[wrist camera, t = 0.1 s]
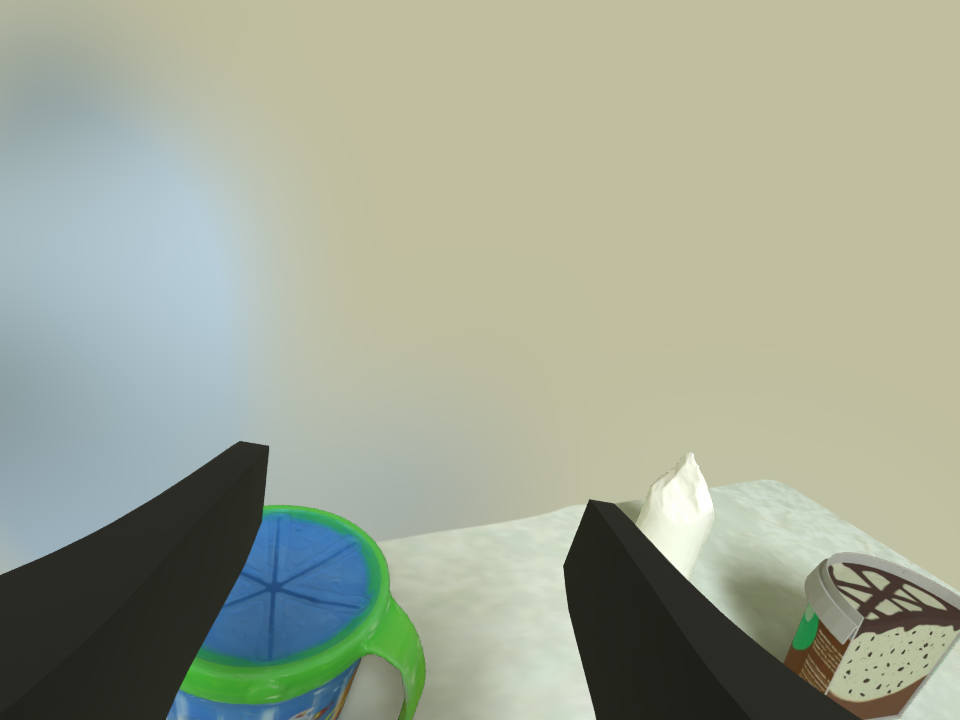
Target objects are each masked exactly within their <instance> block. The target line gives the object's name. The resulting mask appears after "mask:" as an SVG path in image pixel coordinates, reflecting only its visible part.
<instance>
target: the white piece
mask: <svg viewBox="0 0 960 720" xmlns="http://www.w3.org/2000/svg"><path fill="white" fill-rule="evenodd" d="M714 519H715V515H714V510H713V504H712V499H711V497H710V493H709V492H708V490H707V483H706V482H705V479H704V477H703V475H702V473H701V472H700V470H699V465H697V464H696V461H695V460H694V453H691V452H688V453H685V454H684V456H683V457H682V458H681V459H680V461H679V462H678V463H677V465H676V466H675V467H674V468H673V469H672V470H671V471H670V472H667V473H665V474H664V475H662V476H661V477H660V478H658V479H657V480H656V481H655V482H654V483H653V484H652V485H651V487H650V489H649V492H648V495H647V497H646V500H645V502H644V505H643V507H642V510H641V512H640V515H639V517H638V520H637V522H636V524H635V525H636V526H637V527H638V528H639V529H640V530H641V531H642V533H643V534H644V535H645V536H646V537H647V538H648V539H649V540H650V541H651V542H652V543H653V544H654V545H655V547H656V548H657V549H658V550H659V551H660V552H661V553H662V554H663V555H664V556H665V557H666V558H667V559H668V560H669V561H670V562H671V563H672V564H673V565H674V567H675V568H676V569H677V570H678V571H679V572H680V573H681V574H682V575H683V576H684V577H685V578H686V579H687V580H688V581H689V579H690V577H691V574H692V572H693V569H694V567H695V565H696V562H697V560H698V558H699V555H700V553H701V551H702V548H703V546H704V543H705V541H706V539H707V536H708V534H709V532H710V529H711V527H712V524H713V522H714Z"/></svg>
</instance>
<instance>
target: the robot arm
mask: <svg viewBox="0 0 960 720" xmlns="http://www.w3.org/2000/svg"><path fill="white" fill-rule="evenodd" d="M268 455H269V446H266V445H261V444H255V443H249V442H242V441H239V442H237V443H236V444H234V445H233V446H231V447H230V448H228V449H227V450H225V451H224V452H222V453H221V454H220V455H218V456H217V457H215V458H214V459H212V460H211V461H209V462H208V463H207V464H205V465H204V466H202V467H201V468H199V469H198V470H196V471H195V472H193V473H192V474H190V475H189V476H187V477H186V478H184V479H183V480H181V481H180V482H178V483H177V484H175V485H174V486H172V487H170V488H169V489H167V490H166V491H164V492H163V493H161V494H160V495H158V496H156V497H155V498H153V499H152V500H150V501H149V502H147V503H145V504H143V505H141V506H140V507H138V508H136V509H135V510H133V511H131V512H130V513H128V514H126V515H124V516H123V517H121V518H119V519H118V520H116V521H114V522H113V523H111V524H109V525H107V526H105V527H103V528H101V529H99V530H98V531H96V532H94V533H92V534H90V535H88V536H86V537H84V538H82V539H80V540H78V541H76V542H74V543H72V544H69V545H67V546H65V547H63V548H61V549H59V550H57V551H55V552H53V553H51V554H49V555H46V556H44V557H42V558H40V559H37V560H35V561H33V562H30V563H28V564H25V565H23V566H21V567H18V568H16V569H14V570H11V571H9V572H7V573H4V574H2V575H0V720H166V718H167V716H168V714H169V712H170V709H171V707H172V705H173V702H174V700H175V698H176V695H177V693H178V691H179V689H180V687H181V685H182V683H183V681H184V679H185V677H186V675H187V672H188V670H189V668H190V666H191V665H192V663H193V661H194V659H195V657H196V655H197V654H198V652H199V650H200V648H201V646H202V644H203V642H204V641H205V639H206V637H207V635H208V633H209V631H210V629H211V628H212V626H213V624H214V622H215V620H216V618H217V617H218V615H219V613H220V611H221V609H222V607H223V605H224V604H225V602H226V600H227V598H228V596H229V594H230V592H231V590H232V589H233V587H234V585H235V583H236V581H237V579H238V577H239V575H240V574H241V572H242V570H243V568H244V566H245V564H246V561H247V559H248V556H249V554H250V551H251V549H252V546H253V544H254V541H255V539H256V536H257V533H258V531H259V528H260V526H261V523H262V517H263V506H264V496H265V486H266V475H267V465H268ZM563 568H564V578H565V587H566V595H567V602H568V609H569V613H570V618H571V622H572V626H573V630H574V634H575V638H576V642H577V646H578V649H579V653H580V657H581V661H582V665H583V669H584V672H585V676H586V680H587V684H588V688H589V692H590V696H591V699H592V703H593V707H594V711H595V716H596V720H862V719H861V718H859V717H857V716H856V715H854V714H853V713H851V712H850V711H848V710H847V709H845V708H844V707H842V706H841V705H839V704H838V703H836V702H835V701H834V700H832V699H831V698H829V697H828V696H826V695H825V694H823V693H822V692H821V691H819V690H818V689H816V688H815V687H814V686H812V685H811V684H810V683H808V682H807V681H806V680H804V679H803V678H801V677H800V676H799V675H797V674H796V673H795V672H793V671H792V670H791V669H789V668H788V667H787V666H785V665H784V664H783V663H781V662H780V661H779V660H778V659H776V658H775V657H774V656H772V655H771V654H770V653H769V652H767V651H766V650H765V649H764V648H762V647H761V646H760V645H759V644H758V643H756V642H755V641H754V640H753V639H752V638H750V637H749V636H748V635H747V634H746V633H745V632H743V631H742V630H741V629H740V628H739V627H737V626H736V625H735V624H734V623H733V622H732V621H731V620H729V619H728V618H727V617H726V616H725V615H724V614H723V613H722V612H720V611H719V610H718V609H717V608H716V607H715V606H714V605H713V604H712V603H711V602H710V601H709V600H708V599H707V598H706V597H705V596H704V595H703V594H702V593H700V592H699V591H698V590H697V589H696V588H695V587H694V586H693V585H692V584H691V583H690V582H689V581H688V580H687V579H686V578H685V577H684V576H683V575H682V574H681V573H680V572H679V571H678V570H677V569H676V568H675V567H674V565H673V564H672V563H671V562H670V561H669V560H668V559H667V558H666V557H665V556H664V555H663V554H662V553H661V552H660V551H659V550H658V549H657V548H656V547H655V545H654V544H653V543H652V542H651V541H650V540H649V539H648V538H647V537H646V536H645V535H644V534H643V533H642V531H641V530H640V529H639V528H638V527H637V526H636V525H635V524H634V523H633V522H632V521H631V520H630V519H629V518H628V517H627V516H626V515H625V514H624V513H623V512H622V511H621V510H620V509H619V508H618V507H617V506H616V505H615V504H614V503H608V502H602V501H596V500H589V502H588V504H587V507H586V509H585V512H584V514H583V517H582V519H581V522H580V525H579V527H578V530H577V532H576V535H575V537H574V540H573V542H572V545H571V547H570V550H569V553H568V555H567V558H566V560H565V563H564V565H563Z"/></svg>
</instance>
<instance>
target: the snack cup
mask: <svg viewBox="0 0 960 720" xmlns="http://www.w3.org/2000/svg"><path fill="white" fill-rule="evenodd" d="M389 584H390V579H389V571H388V566H387V562H386V560H385V557H384V555H383V553H382V551H381V550H380V548H379V547H378V546H377V544H376V542H375V541H374V540H373V539H372V538H371V537H370V536H369V535H368V534H367V533H366V532H365V531H363V530H362V529H360V528H359V527H358V526H357V525H355V524H353V523H352V522H350V521H348V520H346V519H344V518H342V517H340V516H338V515H335V514H333V513H329V512H326V511H323V510H318V509H315V508H308V507H301V506H291V505H269V506H263V517H262V523H261V526H260V528H259V531H258V533H257V536H256V539H255V541H254V544H253V546H252V549H251V551H250V554H249V556H248V559H247V561H246V564H245V566H244V568H243V570H242V572H241V574H240V575H239V577H238V579H237V581H236V583H235V585H234V587H233V589H232V590H231V592H230V594H229V596H228V598H227V600H226V602H225V604H224V605H223V607H222V609H221V611H220V613H219V615H218V617H217V618H216V620H215V622H214V624H213V626H212V628H211V629H210V631H209V633H208V635H207V637H206V639H205V641H204V642H203V644H202V646H201V648H200V650H199V652H198V654H197V655H196V657H195V659H194V661H193V663H192V665H191V666H190V668H189V670H188V672H187V675H186V677H185V679H184V681H183V683H182V685H181V687H180V689H179V691H178V693H177V695H176V698H175V700H174V702H173V705H172V707H171V709H170V712H169V714H168V716H167V718H166V720H337V718H338V716H339V714H340V712H341V709H342V707H343V705H344V702H345V699H346V697H347V694H348V692H349V689H350V687H351V684H352V681H353V679H354V676H355V673H356V671H357V668H358V666H359V664H360V661H361V658H362V657H363V656H365V655H367V654H376V655H378V656H380V657H383V658H384V659H385V660H387V661H388V662H389V663H391V664H392V665H393V666H395V667H396V668H398V669H399V670H400V672H401V675H402V684H403V689H404V694H405V698H404V702H403V705H402V709H401V713H400V715H399V718H398V720H412V718H413V715H414V713H415V710H416V707H417V705H418V701H419V699H420V697H421V694H422V691H423V687H424V683H425V672H426V670H425V659H424V654H423V648H422V646H421V642H420V640H419V636H418V634H417V632H416V629H415V627H414V625H413V624H412V622H411V621H410V619H409V617H408V616H407V614H406V613H405V612H404V611H403V610H402V609H401V607H400V606H399V605H398V604H397V603H396V602H395V600H394V599H393V598H392V596H391V593H390V588H389Z"/></svg>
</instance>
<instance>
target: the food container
mask: <svg viewBox="0 0 960 720" xmlns="http://www.w3.org/2000/svg"><path fill="white" fill-rule="evenodd" d="M805 592H806V596H807V599H808V601H809V603H808V606H807V608H806V611H805V613H804V615H803V618H802V620H801V623H800V625H799V628H798V630H797V632H796V635H795V637H794V640H793V642H792V645H791V647H790V650H789V652H788V654H787V657H786V659H785V662H784V665H785V666H787V667H788V668H789V669H791V670H792V671H793V672H795V673H796V674H797V675H799V676H800V677H801V678H803V679H804V680H806V681H807V682H808V683H810V684H811V685H812V686H814V687H815V688H816V689H818V690H819V691H821V692H822V693H823V694H825V695H826V696H828V697H829V698H831V699H832V700H834V701H835V702H836V703H838V704H839V705H841V706H842V707H844V708H845V709H847V710H848V711H850V712H851V713H853V714H854V715H856V716H857V717H859V718H861V719H862V720H893V719H899V718H900V717H901V716H902V714H903V713H904V712H905V711H906V709H907V708H908V707H909V705H910V704H911V703H912V701H913V700H914V699H915V697H916V696H917V695H918V693H919V692H920V691H921V689H922V688H923V687H924V685H925V684H926V683H927V681H928V680H929V679H930V677H931V676H932V675H933V673H934V672H935V671H936V669H937V668H938V667H939V666H940V664H941V663H942V662H943V660H944V659H945V658H946V656H947V655H948V654H949V652H950V651H951V650H952V648H953V647H954V646H955V644H956V643H957V642H958V640H959V639H960V596H959V595H957V594H955V593H954V592H952V591H950V590H949V589H947V588H945V587H943V586H941V585H940V584H938V583H936V582H934V581H932V580H930V579H928V578H926V577H924V576H922V575H920V574H918V573H916V572H914V571H911V570H909V569H907V568H905V567H902V566H900V565H897V564H895V563H892V562H889V561H886V560H883V559H880V558H877V557H873V556H869V555H865V554H859V553H850V552H844V553H837V554H834V555H832V556H831V557H830V558H828V559H825V560H824V561H822V562H821V563H820V564H819V565H818V566H817V567H816V568H815V569H814V570H813V571H812V572H811V573H810V574H809V575H808V576H807V578H806V581H805Z"/></svg>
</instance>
